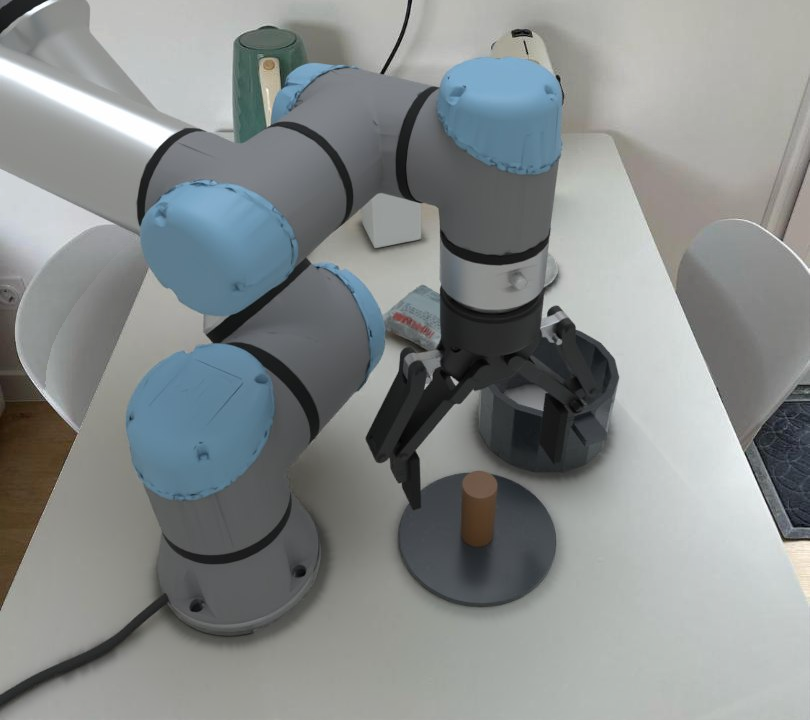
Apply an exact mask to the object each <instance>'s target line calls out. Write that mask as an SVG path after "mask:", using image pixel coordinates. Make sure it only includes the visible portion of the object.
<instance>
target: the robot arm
mask: <svg viewBox="0 0 810 720" xmlns="http://www.w3.org/2000/svg"><path fill="white" fill-rule="evenodd" d="M90 21H91V6H90V3H89V2H88V0H0V170H2V171H4V172H6V173H8V174H10V175H12V176H14V177H17V178H18V179H20V180H23V181H25V182H27V183H28V184H31V185H34V186H35V187H38V188H39V189H41V190H44V191H46V192H48V193H50V194H51V195H54V196H56V197H58V198H60V199H62V200H65V201H66V202H68V203H70V204H72V205H74V206H77V207H79V208H80V209H83V210H85V211H86V212H89V213H91V214H93V215H95V216H97V217H100V218H102V219H104V220H106V221H108V222H110V223H112V224H114V225H116V226H118V227H120V228H122V229H125V230H126V231H128V232H131V233H132V234H135V235H136V236H138V237H139V241H140V246H141V251H142V254H143V257H144V260H145V263H147V265H148V268H149V270H150V271H151V272H152V274H153V276H154V277H155V278H156V280H157V281H158V282H159V284H160V285H161V286H162V287H163V288H165V289H169V290H171V291H172V292H173V293H174V295H176V298H177V300H178V302H180V303H181V304H182V305H184V306H185V307H187V308H188V309H190V310H192V311H194V312H197V313H199V314H202V315H203V324H202V325H203V327H202V333H203V334H204V335H205V337H207V339H208V340H209V341H210V342H211V343H204V344H196V345H195V346H194V348H193V350H192V351H191V352H186V351H185V350H184V349H182V350H178V351H175V352H174V353H172V354H170V355H169V356H167V357H165V358H164V359H163V360H161V361H159V362H158V363H157V364H155V365H154V366H153V367H152V368H151V369H149V370H148V371H147V373H146V374H145V375H144V376H143V377H142V379H141V380H140V381H139V382H138V384H137V385H136V387H135V388H134V390H133V392H132V394H131V396H130V399H129V401H128V404H127V408H126V413H125V422H124V423H125V434H126V439H127V442H128V445H129V452H130V459H131V463H132V466H133V469H134V471H135V473H136V475H137V476H138V478H139V480H140V481H141V482H142V485H143V488H144V491H145V493H146V495H147V498H148V500H149V503H150V504H151V508H152V510H153V513H154V516H155V518H156V520H157V523H158V526H159V528H160V531H161V534H160V541H159V549H158V555H157V562H156V574H157V580H158V581H157V582H158V584H159V588H160V590H161V593H162V595H160V596H158V597H157V598H156V599H155V600H154V601H153V602H152V603H150V604H149V605H148V606H147V607H146V608H144V609H142V611H141V612H139V614H137V615H136V616H135V617H133V619H131V620H130V621H129V622H128V623H127V624H126V625H125V626H124V627H122V629H120V630H119V631H118V632H117V633H115V634H114V635H112V636H111V637H109V638H108V639H106V640H105V641H103V642H101V643H100V644H98V645H96V646H94V647H92V648H90V649H89V650H87V651H85V652H84V651H83V652H82V653H80V654H78V655H75V656H73V657H71V658H69V659H66V660H64V661H61V662H59V663H57V664H55V665H52V666H50V667H47V668H46V669H44V670H41V671H39V672H37V673H35V674H33V675H31V676H30V677H28V678H26V679H24V680H22V681H20V682H19V683H17V684H16V685H14V686H12V687H10V688H9V689H7V690H6V691H4V692H2V693H1V694H0V708H1V707H3V706H4V705H6V704H8V703H9V702H11V701H12V700H14V699H15V698H17V697H19V696H20V695H22V694H23V693H25V692H27V691H29V690H31V689H32V688H34V687H36V686H38V685H40V684H41V683H44V682H46V681H48V680H50V679H52V678H54V677H57V676H59V675H61V674H63V673H66V672H68V671H70V670H73V669H75V668H77V667H80V666H82V665H85V664H86V663H89V662H91V661H93V660H94V659H96V658H98V657H100V656H102V655H103V654H105V653H107V652H109V651H111V650H112V649H114V648H115V647H117V646H119V645H120V644H121V643H123V642H124V641H125V640H127V638H128V637H130V636H131V635H132V634H133V633H134V632H135V631H137V629H138V628H140V626H142V625H143V624H144V623H145V622H146V621H148V620H149V619H150V618H151V617H152V616H154V614H156V613H158V611H160V610H161V609H162V608H163V607H164V606H166V605H168V607H169V608H170V610H171V611H172V613H173V614H174V615H175V616H176V617H177V619H179V620H180V621H181V622H182V623H184V624H186V625H187V626H189V627H191V628H192V629H194V630H197V631H199V632H201V633H206V634H210V635H214V636H224V637H227V636H240V635H241V636H242V635H248V634H251V633H254V632H255V631H256V630H260V629H263V628H264V627H267V626H270V625H271V624H274V623H275V622H277V621H279V620H280V619H282V618H284V617H285V616H287V614H289V613H291V612H292V611H293V610H294V609H296V607H297V606H299V604H301V602H302V601H303V600H304V599H305V598H306V596H307V595H308V593H309V592H310V590H311V589H312V587H313V586H314V583H315V581H316V579H317V577H318V574H319V571H320V568H321V567H320V566H321V561H322V548H321V542H320V535H319V530H318V528H317V525H316V522H315V521H314V519H313V517H312V515H311V514H310V512H309V511H308V510H307V509H306V508H305V507H304V505H303V504H302V503H301V502H300V501H299V500H298V498H297V497H296V496H295V495H294V494H293V492H292V491H291V489H290V488H291V486H290V482H289V476H288V472H289V470H290V468H291V467H292V465H293V464H294V463H295V462H296V461H297V460H298V458H299V457H300V456H301V455H302V453H304V451H305V450H307V448H308V446H309V445H310V444H311V443H312V442H313V441H314V440H315V439H316V438H317V437H318V435H319V434H320V433H321V432H322V431H323V429H324V428H325V427H326V426H327V425H328V424H329V423H330V421H331V420H332V419H333V418H334V417H335V416H336V414H337V413H339V411H340V410H341V409H343V407H344V406H345V405H346V403H347V402H348V401H349V400H350V399H351V398H352V396H354V395H355V394H356V393H357V392H360V390H361V389H363V387H364V386H365V384H366V383H367V382H368V379H369V378H370V375H371V374H372V372H373V371H374V370H375V368H377V366H378V364H379V363H380V361H381V359H382V358H383V355H384V352H385V348H386V339H385V338H386V328H385V325H384V320H383V316H382V315H383V313H382V311H381V309H380V306H379V304H378V302H377V301H376V298H375V297H374V295H373V294H372V292H371V291H370V289H369V288H368V287H367V285H366V284H365V283H364V282H363V281H362V280H361V279H360V278H359V277H358V276H356V275H355V274H353V273H352V272H351V271H350V270H348V269H347V268H346V269H345V268H344V269H342V270H340V267H339V265H337V264H335V263H332V262H325V261H324V262H317V263H312V262H311V261H310V260H309V259H308V258H307V257H308V256H309V255H310V254H311V253H312V252H314V251H315V249H316V248H318V247H319V246H320V245H321V244H322V243H323V242H324V241H325V240H326V239H327V238H329V237H330V236H331V235H332V234H333V233H334V232H335V231H337V230H338V229H339V228H340V227H342V226H343V225H344V224H346V223H347V222H348V221H349V220H350V219H351V218H353V217H354V216H355V214H356V213H358V212H359V211H361V208H362V207H363V206H364V205H366V204H367V203H368V202H369V201H370V200H371V199H372V198H373V197H374V196H375V195H377V194H379V193H383V194H387V195H391V196H395V197H399V198H403V199H407V200H410V201H414V202H417V203H421V204H425V205H428V206H429V205H430V206H434V207H436V208H437V209H438V218H439V219H438V220H439V282H440V286H439V294H440V330H441V339H440V341H439V343H438V345H437V347H436V349H435V350H432V351H427V350H426V351H422V352H417V350H416V349H415V347H413V346H406V347H403V349H402V350H401V351H400V353H399V361H398V370H397V374H396V375H395V377H394V379H393V381H392V383H391V386H390V387H389V389H388V391H387V393H386V396H385V397H384V400H383V401H382V403H381V404H380V405H381V406H380V407H379V409H378V411H377V413H376V416H375V417H374V420H373V422H372V423H371V425H370V427H369V429H368V430H367V433H366V436H365V438H364V439H365V442H366V444H367V446H368V449H369V450H370V452H371V454H372V457H373V459H374V461H375V462H376V463H377V464H383V463H385V462H387V461H388V460H389V466H390V467H389V468H390V471H391V473H392V475H393V477H394V479H395V481H396V482H397V484H401V489H402V491H403V493H404V495H405V497H406V499H407V501H408V504H409V503H410V505H411V507H412V509H413V511H414V510H417V509H420V508H421V490H422V489H421V487H422V486H421V485H422V484H421V458H420V457H419V454H418V452H417V450H418V448H419V447H420V446H421V445H422V443H424V441H425V440H426V439H427V437H428V436H429V435H430V434H431V433H432V432H433V431H434V429H435V428H436V427H437V426H438V425H439V423H440V422H441V421H442V420H443V419H444V418H445V416H446V415H447V414H448V413H449V411H450V410H452V408H453V406H455V405H461V404H462V403H464V401H465V400H466V399H467V397H468V396H469V395H470V394H471V393H472V391H474V392H478V391H480V390H481V389H484V388H486V387H488V386H490V385H492V384H499V383H504V382H508V381H510V380H511V377H513V376H514V375H515V374H517V373H519V374H520V375H521V376H523V377H524V378H526V379H527V380H528V381H530V382H534V383H535V384H534V385H537V386H538V387H539V388H541V389H542V390H543V391H544V392H545V393H544V401H543V409H542V411H543V416H542V425H541V433H540V441H539V444H540V445H541V447H542V448H543V450H544V451H545V453H546V454H547V455H548V457H549V458H550V460H551V461H552V463H553V464H555V463H558V462H561V457H562V450H563V444H564V437H565V431H566V429H569V428H571V426H572V425H573V421H574V414H579V413H580V412H582V411H583V410H584V408H585V406H586V405H585V404H584V402H583V401H582V397H584V396H586V395H587V396H588V397H593V396H595V395H596V394H598V392H599V390H600V388H599V386H598V384H597V382H596V380H595V378H594V377H593V375H592V373H591V371H590V369H589V367H588V365H587V363H586V361H585V360H584V358H583V356H582V354H581V352H580V350H579V348H578V346H577V344H576V330H577V326H576V324H575V323H574V321H573V320H571V317H569V316H568V315H567V313H566V312H565V311H564V310H563V308H561V306H559V305H552V306H551V307H550V308H549V309H548V310H547V312H546V317H544V318H543V309H544V301H545V289H544V288H545V287H544V284H545V276H546V266H547V257H548V253H549V248H550V247H549V246H550V236H551V232H552V231H551V230H552V219H553V211H554V204H555V203H554V202H555V195H556V194H555V193H556V186H557V180H558V179H557V178H558V171H559V163H560V159H561V157H562V150H563V148H562V147H563V141H562V118H563V117H562V114H563V92H562V86H561V85H560V82H559V80H558V79H557V77H556V76H555V75H554V73H553V72H551V71H550V70H549V69H547V68H546V67H545V66H543V65H542V64H539V63H537V62H535V61H532V60H529V59H525V58H521V57H515V56H505V57H504V56H503V57H501V58H500V57H497V58H495V57H491V56H480V57H475V58H471V59H467V60H464V61H462V62H460V63H457V64H455V65H453V66H451V68H449V69H448V70H447V71H446V72H445V73H444V75H443V77H442V79H441V81H440V84H439V86H435V85H431V84H427V83H422V82H418V81H413V80H408V79H405V78H400V77H397V76H391V75H388V74H383V73H379V72H374V71H369V70H365V69H363V68H359V67H358V66H355V65H349V66H348V65H346V64H337V65H336V64H326V63H319V62H309V63H305V64H301V65H300V66H298V67H296V68H294V70H292V71H290V73H288V75H287V76H286V77H285V81H284V82H285V83H284V86H283V88H281V89H279V90H278V91H277V92H276V95H275V97H274V100H273V104H272V108H271V115H270V124H269V126H267V127H266V128H264V129H262V130H261V131H260V132H258V133H257V134H254V136H252V137H251V138H248V139H247V140H246V141H244V142H233V141H232V140H229V139H227V138H224V137H222V136H220V135H217V134H215V133H212V132H210V131H207V130H204V129H202V128H199V127H198V126H195V125H193V124H190V123H188V122H185V121H184V120H181V119H178V118H176V117H174V116H172V115H169V114H166V113H165V112H162V111H160V110H158V108H156V106H155V105H153V103H152V102H151V101H150V100H149V98H148V97H147V96H146V95H145V94H144V92H142V90H141V89H140V88H139V87H138V85H136V83H135V82H134V81H133V80H132V79H131V78H130V76H129V75H128V74H127V72H125V70H124V69H123V68H122V67H121V66H120V65H119V63H118V62H117V61H116V60H115V59H114V58H113V57H112V56H111V55H110V53H109V52H108V51H107V49H105V48H104V46H103V45H102V44H101V43H100V42H99V40H98V39H97V38H96V37H95V35H93V33H91V30H90V25H91V23H90ZM542 337H546V339H547V340H548V341H549V342H551V343H554V344H555V346H556V348H557V350H558V351H559V353H560V355H561V357H562V359H563V360H564V362H565V364H566V366H567V367H568V369H569V371H570V373H571V375H572V376H573V378H572V379H570V380H568V381H567V382H566V381H565V380H564V379H563V378H562V377H560V376H559V375H558V374H556V373H555V372H554V371H552V370H551V369H550V368H549V367H547V366H546V365H545V364H543V363H542V362H541V361H539V360H538V359H537V358H535V357H534V356H533V355H532V353H533V352H534V351H535V349H536V348H537V347H538V346H539V344H540V343H541V340H542ZM453 379H454V380H455V381H456V382H457V383H456V384H455V383H454V381H453ZM426 385H427V386H426Z"/></svg>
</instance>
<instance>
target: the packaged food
mask: <svg viewBox="0 0 810 720" xmlns="http://www.w3.org/2000/svg"><path fill="white" fill-rule="evenodd" d="M382 316H383V320H384V325H385V330H386V331H388V332H390V333H393V334H394V335H397V336H399V337H401V338H403V339H406V340H408V341H410V342H412V343H414V344H416V345H418V346H419V347H420V348H423V350H426V352H427V351H432V350H435V349H436V347H437V345H438V343H439V341H440V339H441V330H440V292H437V291H435V290H433V289H432V288H430V287H428V286H427V285H425V284H421V285H419V286H417V287H416V288H415V289H413V290H411V291H409V292H408V293H407V295H405V296H404V297H403V298H402V299H400V300H399V301H398V302H397V303H396V304H394V305H393V306H392V307H391V308H390V309H389V310H388V311H387V312H385V313H382Z"/></svg>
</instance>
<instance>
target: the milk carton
mask: <svg viewBox="0 0 810 720" xmlns="http://www.w3.org/2000/svg"><path fill="white" fill-rule="evenodd" d="M421 205H422V203H417V202H414V201H410V200H407V199H403V198H399V197H395V196H391V195H387V194H383V193H379V194H377V195H375V196H374V197H373V198H372V199H371V200H370V201H369V202H368V203H367V204H366V205H364V206H363V207H362V208H361V209H360V217H361V223H362V226H363V228H364V230H365V232H366V234H367V236H368V239H369V240H370V242H371V244H372V246H373V248H374V249H379V248H383V247H388V246H393V245H399V244H403V243H408V242H414V241H418V240H421V239H422V206H421Z"/></svg>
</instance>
